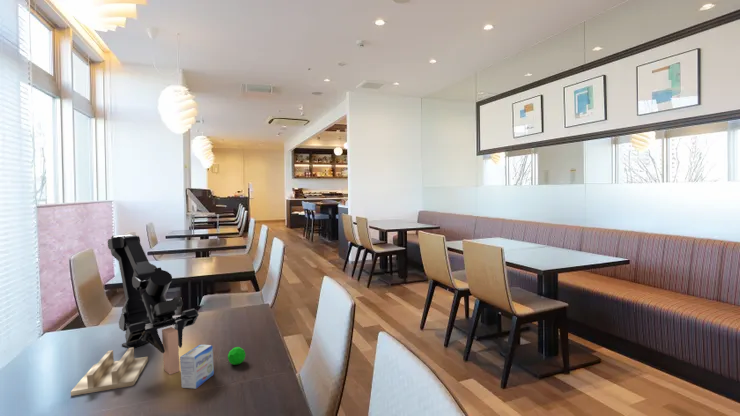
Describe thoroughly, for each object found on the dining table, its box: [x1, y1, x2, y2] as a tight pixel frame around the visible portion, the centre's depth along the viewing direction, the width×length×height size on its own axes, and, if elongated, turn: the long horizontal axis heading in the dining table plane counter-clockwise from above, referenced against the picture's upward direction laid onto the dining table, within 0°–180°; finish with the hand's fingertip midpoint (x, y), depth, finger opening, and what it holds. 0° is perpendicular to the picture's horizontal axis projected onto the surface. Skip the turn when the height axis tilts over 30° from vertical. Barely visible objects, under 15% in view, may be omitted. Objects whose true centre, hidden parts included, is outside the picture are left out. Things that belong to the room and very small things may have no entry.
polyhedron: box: [227, 346, 246, 366], centre depth 110 cm, size 5×5×5 cm
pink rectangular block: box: [161, 326, 181, 375], centre depth 107 cm, size 4×3×12 cm, turn 49°
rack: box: [70, 347, 149, 397], centre depth 104 cm, size 16×14×5 cm
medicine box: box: [179, 344, 215, 390], centre depth 100 cm, size 8×4×9 cm, turn 168°
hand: (172, 349), depth 106 cm, fingers open, 4 cm apart
